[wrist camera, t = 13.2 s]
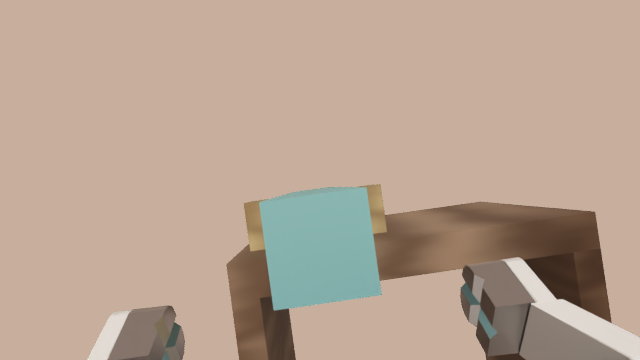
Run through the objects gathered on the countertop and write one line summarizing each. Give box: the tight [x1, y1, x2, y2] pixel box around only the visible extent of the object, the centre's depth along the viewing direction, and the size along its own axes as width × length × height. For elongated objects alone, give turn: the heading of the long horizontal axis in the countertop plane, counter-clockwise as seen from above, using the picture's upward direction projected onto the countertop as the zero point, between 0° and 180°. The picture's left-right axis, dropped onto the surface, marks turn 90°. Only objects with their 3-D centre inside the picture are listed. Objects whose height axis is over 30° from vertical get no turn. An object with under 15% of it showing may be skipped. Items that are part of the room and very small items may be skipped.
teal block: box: [259, 187, 382, 311], centre depth 22 cm, size 3×22×3 cm, turn 1°
